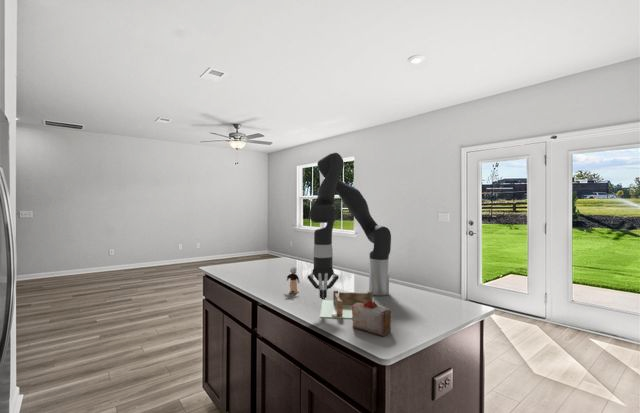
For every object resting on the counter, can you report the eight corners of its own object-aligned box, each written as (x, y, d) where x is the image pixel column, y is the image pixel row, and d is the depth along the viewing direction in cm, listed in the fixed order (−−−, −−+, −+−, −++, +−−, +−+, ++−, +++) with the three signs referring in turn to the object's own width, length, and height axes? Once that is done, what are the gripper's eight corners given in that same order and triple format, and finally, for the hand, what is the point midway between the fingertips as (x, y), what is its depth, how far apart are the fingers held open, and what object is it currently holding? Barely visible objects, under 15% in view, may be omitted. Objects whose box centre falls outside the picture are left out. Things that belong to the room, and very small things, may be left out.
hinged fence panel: (332, 303, 137) (333, 290, 137) (337, 303, 137) (338, 290, 137) (337, 316, 122) (337, 301, 122) (342, 315, 122) (343, 301, 122)
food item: (348, 328, 112) (348, 300, 112) (360, 321, 119) (360, 295, 118) (382, 338, 104) (382, 308, 104) (393, 331, 110) (394, 303, 110)
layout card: (373, 302, 142) (373, 301, 142) (380, 319, 120) (380, 318, 120) (322, 301, 143) (322, 300, 143) (319, 318, 122) (319, 316, 122)
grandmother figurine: (301, 292, 157) (302, 266, 157) (298, 294, 153) (299, 267, 153) (287, 290, 160) (287, 265, 159) (284, 292, 156) (284, 266, 156)
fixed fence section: (372, 305, 137) (372, 291, 137) (372, 306, 135) (372, 292, 134) (338, 304, 137) (339, 290, 137) (338, 305, 135) (339, 291, 135)
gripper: (339, 253, 130) (339, 296, 130) (306, 253, 130) (306, 296, 130) (340, 256, 122) (340, 301, 122) (305, 256, 122) (305, 301, 122)
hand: (323, 298), depth 126 cm, fingers closed
